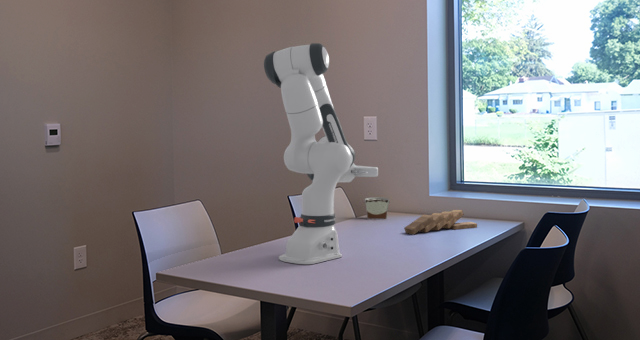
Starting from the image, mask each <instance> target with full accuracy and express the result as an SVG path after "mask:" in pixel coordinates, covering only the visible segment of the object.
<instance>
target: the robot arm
mask: <svg viewBox="0 0 640 340" xmlns="http://www.w3.org/2000/svg"><path fill="white" fill-rule="evenodd" d="M329 56H330V55H329V53H328V51H327V49H326V47H325V46H324V45H323V44H322V43H318V42H316V43H315V42H313V43H310V44H304V45H296V46H289V47H286V48H284V49H280V50H278V51H276V50H275V51H272V52H270V53H267V55H265V57H264V61H263V69H264V72H265V76H266V77H267V79H268V80H269V81H270V82H271V83H272V84H274V85H275V86H276V87H277V88H280V91H281V92H280V93H281V99H282V103H283V108H284V110H285V114H286V117H287V121H288V124H289V128H290V135H291V136H290V137H291V138H290V142H289V145H288V146H287V147H286V149H284V150H285V151H284V153H283V162H284V165H285V167H286V168H287V170H289V171H290V172H294V173H299V174H304V175H305V174H306V175H307V177H308V178H309V180H310V181H311V182H312V183H311V184H310V185H308V186H307V187H305V188H304V189H303V191H302V192H301V214H300V217H299V216H295V217H294V219H293V221H294V223H295V224H298V227H297V228H296V230H295V231H293V233H292V235H290V237H289V238H288V240H287V241H286V243H285V244H286V245H285V253H283V254H281V255H279V256H278V260H279V261H281V262H284V263H285V262H286V263H291V264H296V265H297V264H298V265H314V264H318V263H322V262H326V261H330V260H335V259H339V258H342V257H343V256H342V253H341V252H340V246H339V236H338V232H337V230H336V227H335V224H336V214H335V207H334V206H335V192H336V188H337V184H338V183H351V182H353V180H354V179H355V178H356V177H361V178H362V177H363V178H372V177H373V178H376V177H378V176H379V167H377V166H365V165H356V164H355V160H356V152H355V150H354V148H353V147H352V146H351V145H350V144H349V143H348V141H347V139H346V136H345V134H344V131H343V128H342V126H341V122H340V120H339V118H338V115H337V113H336V110H335V107H334V104H333V102H332V101H333V100H332V98H331V95H330V92H329V88H328V85H327V82H326V78H325V77H324V76H325V75H324V74H325V73H326V72H327V71H328V70H329V67H330V57H329ZM321 130H323V133H324V136H322V137H321V138H320V139H319V140H318V141H317V140H316V135H317V134H318V132H320V131H321Z"/></svg>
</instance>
